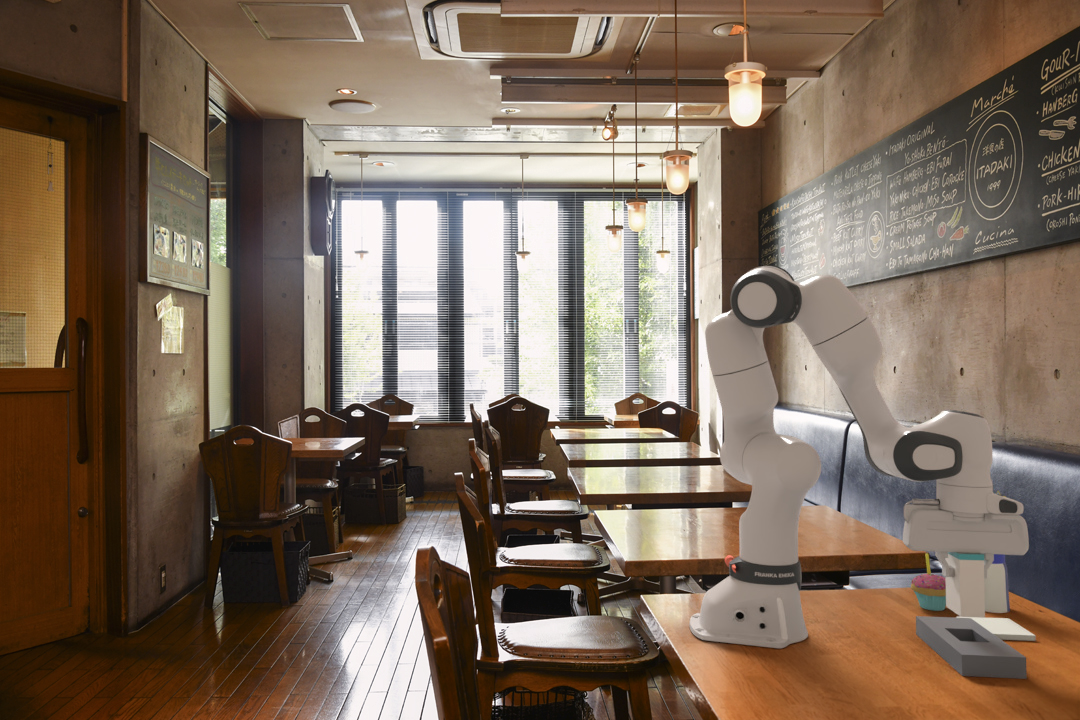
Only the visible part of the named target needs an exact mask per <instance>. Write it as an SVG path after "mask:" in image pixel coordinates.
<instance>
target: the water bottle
mask: <svg viewBox="0 0 1080 720" xmlns="http://www.w3.org/2000/svg"><path fill="white" fill-rule="evenodd" d="M996 494H1000V495H1002V494H1001V492H1000V491H999V490H997V492H996ZM1003 497H1006V495H1003ZM984 595H985V613H986V612H988V613H995V614H1003V613H1005V614H1006V613H1009V612H1010V611H1011V605H1010V603H1011V602H1010V596H1009V574H1008V566H1007V563H1006V555H1003V554H994V561H993V562H992V564H991V565H990V567H989V568H988V569H987V578H986V579H984Z"/></svg>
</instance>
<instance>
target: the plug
mask: <svg viewBox="0 0 1080 720" xmlns="http://www.w3.org/2000/svg"><path fill="white" fill-rule="evenodd" d="M945 560H946V561H947V563H948V565H949V566H952V567H954V568H955V572H954V574H955V576H954V577H945V578H946V607H945V608H947V609H949V610H950V611H952V612H953V613H954V614H956V615H957V616H958V617H980V618H986V611H985V595H984V554H982V553H968V552H948V558H945Z"/></svg>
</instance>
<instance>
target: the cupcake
mask: <svg viewBox="0 0 1080 720" xmlns="http://www.w3.org/2000/svg"><path fill="white" fill-rule="evenodd" d="M924 554H925V563H926V564H925V565H926V573H921V574H919V575H916V576H915V577H914V578H912V579H911V584H910V589H911V590H912V591H913V592H914V594H915V596H916V598H917V601H918V604H919V607H920V608H922V609H924V610H928V611H933V612H939V611H941V612H942V611H944V610H946V608H947V607H946V577H945V576H942V575H938V574H934V573H932V571H931V563H930V562H931V561H930V556H929V553H928V551H925V553H924Z"/></svg>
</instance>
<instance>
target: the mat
mask: <svg viewBox="0 0 1080 720" xmlns="http://www.w3.org/2000/svg"><path fill="white" fill-rule="evenodd" d="M955 618H971V619H973V620H974V621H975V622H977V623H978V624H980V625H981V626H983V627H984V628H985V629H987V630H988V631H990V632H991V633H992V634H994V635H995V636H997V637H998V638H999V639H1001V640H1002V641H1003V640H1004V641H1005V640H1007V641H1009V640H1010V641H1031V642H1036V640H1037V637H1036V635H1035V634H1034V633H1033V632H1030V631H1029V630H1028V629H1026V628H1024V627H1023V626H1021V625H1020V624H1018V623H1017V622H1015V621H1013V620H1012V619H1010V618H1009V617H1008V618H1007V617H1006V618H1005V617H985V618H980V617H960V616H959V615H957V616H956V617H955Z"/></svg>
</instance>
